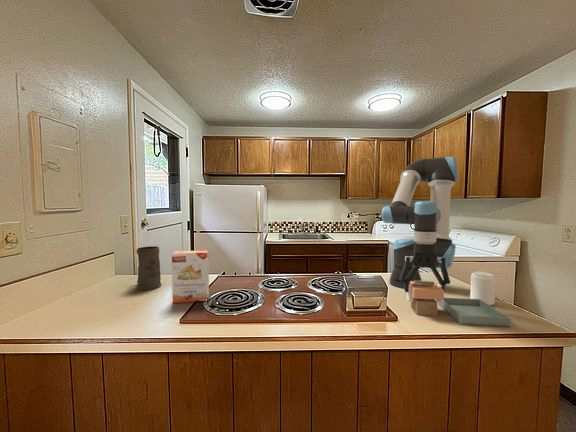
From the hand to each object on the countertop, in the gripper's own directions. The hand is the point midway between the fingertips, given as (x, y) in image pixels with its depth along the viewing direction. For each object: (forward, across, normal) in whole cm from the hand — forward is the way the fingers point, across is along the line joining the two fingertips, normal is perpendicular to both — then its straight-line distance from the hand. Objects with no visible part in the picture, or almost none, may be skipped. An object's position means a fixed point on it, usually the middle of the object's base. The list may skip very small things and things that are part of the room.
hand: (423, 301), depth 102 cm
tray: (+4, +16, -1) cm, 17 cm away
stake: (+4, 0, 0) cm, 4 cm away
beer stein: (+4, -125, +15) cm, 126 cm away
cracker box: (+4, -93, -1) cm, 93 cm away
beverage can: (+4, +27, +13) cm, 30 cm away
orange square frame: (-3, 0, 0) cm, 3 cm away
